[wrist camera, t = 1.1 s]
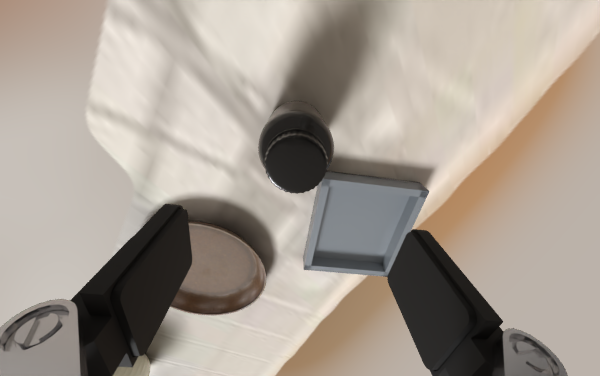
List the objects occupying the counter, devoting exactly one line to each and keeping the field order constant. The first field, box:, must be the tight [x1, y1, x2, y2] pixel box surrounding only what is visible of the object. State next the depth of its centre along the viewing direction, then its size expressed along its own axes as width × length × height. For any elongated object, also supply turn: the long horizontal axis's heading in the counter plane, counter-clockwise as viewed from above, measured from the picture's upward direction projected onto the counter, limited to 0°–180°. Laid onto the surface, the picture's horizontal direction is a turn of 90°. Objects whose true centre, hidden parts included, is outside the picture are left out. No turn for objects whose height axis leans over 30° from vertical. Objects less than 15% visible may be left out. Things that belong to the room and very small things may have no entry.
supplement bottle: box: [258, 101, 334, 193], centre depth 22 cm, size 7×7×12 cm
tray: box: [303, 171, 429, 277], centre depth 33 cm, size 16×14×2 cm
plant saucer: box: [170, 222, 266, 315], centre depth 36 cm, size 21×21×3 cm
